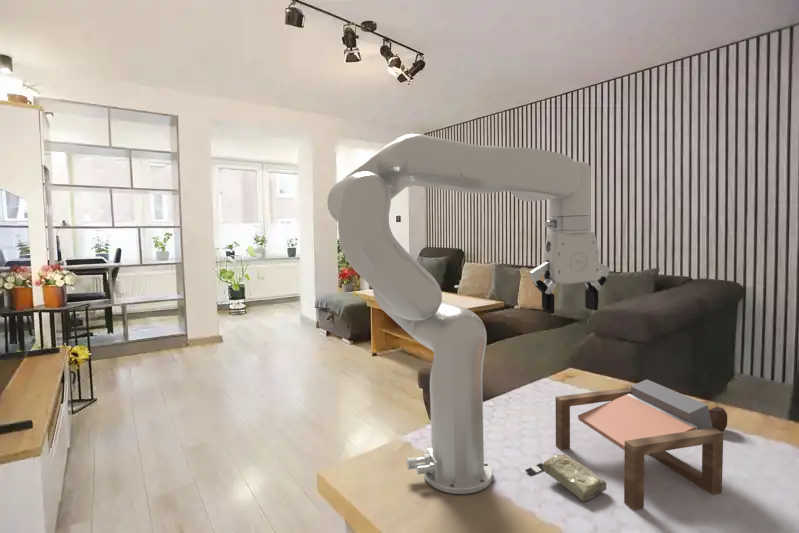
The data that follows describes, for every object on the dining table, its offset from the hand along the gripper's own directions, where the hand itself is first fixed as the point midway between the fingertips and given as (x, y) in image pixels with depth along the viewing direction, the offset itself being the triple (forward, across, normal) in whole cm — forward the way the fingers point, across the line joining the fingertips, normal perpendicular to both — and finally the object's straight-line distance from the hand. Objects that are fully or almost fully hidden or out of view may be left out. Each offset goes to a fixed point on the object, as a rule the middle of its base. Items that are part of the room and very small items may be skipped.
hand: (570, 311), depth 89 cm
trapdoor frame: (+28, +6, -10) cm, 31 cm away
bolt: (+29, +32, +4) cm, 43 cm away
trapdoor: (+22, +9, -10) cm, 26 cm away
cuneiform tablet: (+26, -12, -12) cm, 31 cm away
